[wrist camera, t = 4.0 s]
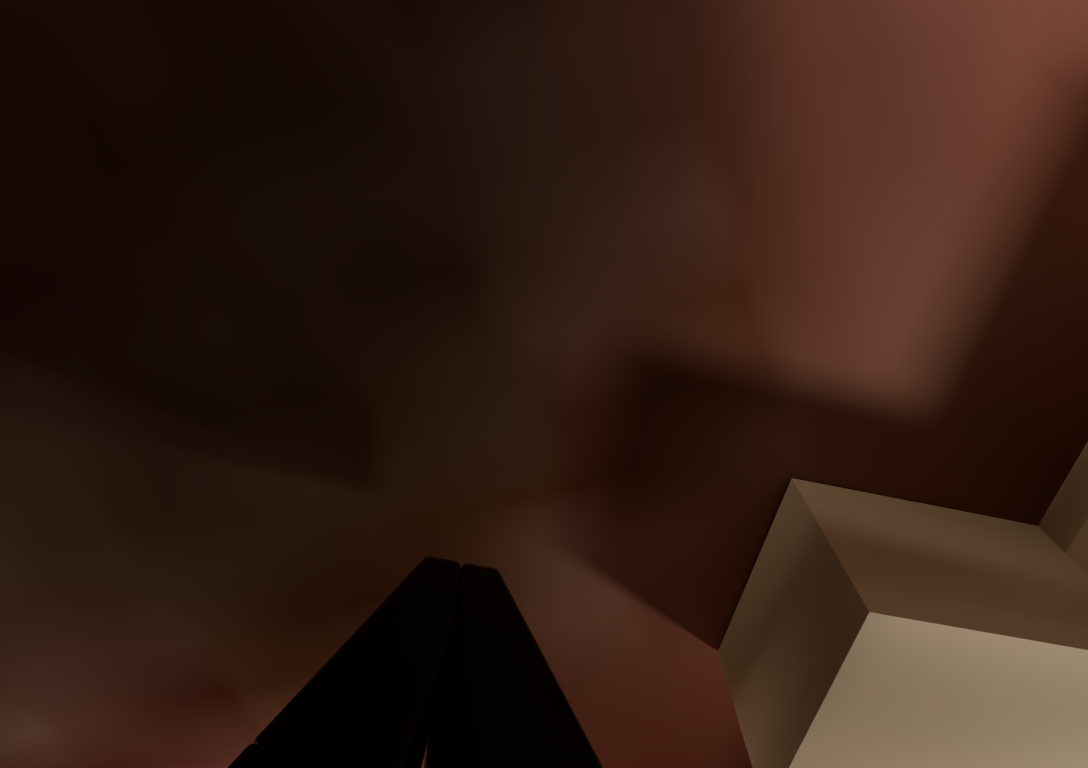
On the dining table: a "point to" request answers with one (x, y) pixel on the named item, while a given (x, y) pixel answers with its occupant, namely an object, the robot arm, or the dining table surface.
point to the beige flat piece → (914, 635)
